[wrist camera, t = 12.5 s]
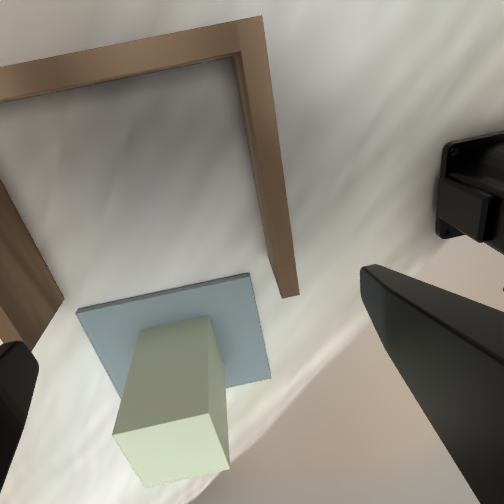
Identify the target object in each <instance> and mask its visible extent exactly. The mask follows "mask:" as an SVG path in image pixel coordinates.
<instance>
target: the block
mask: <svg viewBox="0 0 504 504" xmlns="http://www.w3.org/2000/svg"><path fill="white" fill-rule="evenodd" d="M112 436H113V438H114V439H115V441H116V443H117V444H118V446H119V447H120V449H121V451H122V452H123V454H124V456H125V457H126V459H127V460H128V462H129V464H130V465H131V467H132V468H133V470H134V472H135V473H136V475H137V476H138V478H139V480H140V481H141V483H142V485H143V486H144V488H149V487H153V486H158V485H162V484H166V483H171V482H175V481H179V480H184V479H188V478H192V477H196V476H201V475H205V474H209V473H214V472H218V471H222V470H227V469H230V461H229V443H228V425H227V408H226V390H225V373H224V363H223V360H222V357H221V354H220V351H219V347H218V344H217V341H216V338H215V335H214V332H213V329H212V325H211V322H210V319H209V316H208V315H207V316H203V317H198V318H194V319H190V320H185V321H181V322H176V323H172V324H167V325H163V326H159V327H154V328H150V329H145V330H141V331H139V334H138V338H137V342H136V346H135V350H134V353H133V357H132V361H131V365H130V369H129V372H128V376H127V380H126V384H125V388H124V391H123V395H122V399H121V403H120V407H119V410H118V414H117V418H116V422H115V426H114V430H113V433H112Z"/></svg>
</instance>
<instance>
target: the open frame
mask: <svg viewBox="0 0 504 504" xmlns="http://www.w3.org/2000/svg"><path fill="white" fill-rule="evenodd" d="M231 56H233V61H234V67H235V72H236V78H237V84H238V89H239V95H240V101H241V106H242V112H243V118H244V123H245V129H246V135H247V140H248V146H249V151H250V157H251V163H252V168H253V174H254V180H255V185H256V191H257V197H258V202H259V208H260V214H261V219H262V225H263V231H264V236H265V242H266V248H267V253H268V258H269V261H270V264H271V267H272V270H273V273H274V276H275V279H276V282H277V285H278V288H279V291H280V294H281V297H282V298H287V297H292V296H296V295H300V294H299V287H298V279H297V272H296V264H295V257H294V249H293V242H292V234H291V227H290V220H289V212H288V205H287V197H286V190H285V182H284V175H283V167H282V160H281V153H280V145H279V138H278V130H277V123H276V115H275V108H274V100H273V93H272V86H271V78H270V71H269V63H268V56H267V48H266V41H265V33H264V26H263V18H262V15H261V16H256V17H251V18H246V19H241V20H236V21H231V22H226V23H221V24H216V25H211V26H206V27H201V28H196V29H191V30H186V31H181V32H175V33H170V34H165V35H160V36H155V37H150V38H145V39H140V40H135V41H130V42H125V43H120V44H115V45H110V46H105V47H100V48H95V49H90V50H85V51H80V52H75V53H70V54H64V55H59V56H54V57H49V58H44V59H39V60H34V61H29V62H24V63H19V64H14V65H9V66H4V67H0V103H1V102H6V101H11V100H16V99H21V98H26V97H31V96H36V95H41V94H46V93H51V92H56V91H61V90H66V89H71V88H76V87H81V86H86V85H91V84H96V83H101V82H106V81H111V80H116V79H121V78H126V77H131V76H136V75H141V74H146V73H151V72H156V71H161V70H166V69H171V68H176V67H181V66H186V65H191V64H196V63H201V62H206V61H211V60H216V59H221V58H226V57H231ZM63 300H64V297H63V296H62V294H61V292H60V290H59V288H58V286H57V284H56V283H55V281H54V279H53V277H52V275H51V273H50V271H49V270H48V268H47V266H46V264H45V262H44V260H43V258H42V257H41V255H40V253H39V251H38V249H37V247H36V245H35V244H34V242H33V240H32V238H31V236H30V234H29V232H28V231H27V229H26V227H25V225H24V223H23V221H22V219H21V218H20V216H19V214H18V212H17V210H16V208H15V206H14V205H13V203H12V201H11V199H10V197H9V195H8V193H7V192H6V190H5V188H4V186H3V184H2V182H1V180H0V339H1V340H2V342H3V343H7V342H12V341H17V340H21V341H23V342H25V343H26V345H27V346H28V348H29V349H30V351H32V350H33V348H34V347H35V345H36V343H37V342H38V340H39V339H40V337H41V335H42V334H43V332H44V331H45V329H46V327H47V326H48V324H49V323H50V321H51V320H52V318H53V316H54V315H55V313H56V312H57V310H58V308H59V307H60V305H61V304H62V302H63Z"/></svg>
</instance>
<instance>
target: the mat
mask: <svg viewBox="0 0 504 504" xmlns="http://www.w3.org/2000/svg"><path fill="white" fill-rule="evenodd" d="M207 315H208V316H209V319H210V322H211V325H212V329H213V332H214V335H215V338H216V341H217V344H218V347H219V351H220V354H221V357H222V360H223V363H224V373H225V388H229V387H234V386H238V385H243V384H247V383H252V382H257V381H261V380H266V379H270V378H271V374H270V369H269V365H268V360H267V355H266V351H265V346H264V341H263V337H262V332H261V327H260V322H259V318H258V313H257V308H256V304H255V299H254V294H253V289H252V285H251V280H250V275H249V273H246V274H241V275H237V276H232V277H227V278H223V279H218V280H213V281H208V282H204V283H199V284H194V285H190V286H185V287H180V288H175V289H171V290H166V291H161V292H157V293H152V294H147V295H142V296H138V297H133V298H128V299H124V300H119V301H114V302H109V303H105V304H100V305H95V306H91V307H86V308H81V309H78V310H77V312H76V316H77V318H78V320H79V321H80V323H81V325H82V327H83V329H84V331H85V333H86V335H87V336H88V338H89V340H90V342H91V344H92V346H93V348H94V350H95V351H96V353H97V355H98V357H99V359H100V361H101V363H102V365H103V366H104V368H105V370H106V372H107V374H108V376H109V378H110V380H111V381H112V383H113V385H114V387H115V389H116V391H117V393H118V395H119V396H120V398H121V399H122V395H123V391H124V388H125V384H126V380H127V376H128V372H129V369H130V365H131V361H132V357H133V353H134V350H135V346H136V342H137V338H138V334H139V331H141V330H145V329H150V328H154V327H159V326H163V325H167V324H172V323H176V322H181V321H185V320H190V319H194V318H198V317H203V316H207Z"/></svg>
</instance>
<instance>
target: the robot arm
mask: <svg viewBox="0 0 504 504" xmlns="http://www.w3.org/2000/svg"><path fill="white" fill-rule="evenodd" d="M453 148H455V151H454V153H453V154H451V151H452V149H453ZM437 216H438V217H437V228H436V234H437V235H438V236H439V237H440V238H442V239H448V238H453V237H457V236H461V235H467V236H469V237H471V238H472V239H474V240H475V241H477V242H479V243H482V242H484V243H486V244H487V245H489V246H491V247H492V248H494V249H495V250H497V251H498V252H500V253H502V254H503V255H504V131H503V132H498V133H493V134H488V135H483V136H479V137H474V138H469V139H464V140H459V141H455V142H451V143H449V144H447V145H446V147H445V148H444V151H443V160H442V172H441V179H440V181H439V192H438V203H437ZM446 229H447V230H446ZM445 230H446V232H445V233H443V232H444V231H445ZM360 291H361V298H362V301H363V303H364V305H365V307H366V310H367V312H368V314H369V316H370V318H371V320H372V322H373V324H374V327H375V329H376V331H377V333H378V335H379V338H380V339H381V342H382V344H383V346H384V348H385V350H386V351H387V353H388V355H389V356H390V358H391V360H392V361H393V363H394V364H395V366H396V368H397V369H398V371H399V373H400V374H401V376H402V378H403V379H404V381H405V382H406V384H407V386H408V387H409V389H410V390H411V392H412V394H413V395H414V397H415V399H416V400H417V402H418V403H419V405H420V406H421V408H422V410H423V411H424V413H425V415H426V416H427V418H428V420H429V421H430V423H431V424H432V426H433V428H434V429H435V431H436V432H437V434H438V436H439V437H440V439H441V440H442V442H443V444H444V445H445V447H446V449H447V450H448V452H449V454H450V455H451V457H452V458H453V460H454V462H455V463H456V465H457V466H458V468H459V470H460V471H461V473H462V474H463V476H464V478H465V479H466V481H467V483H468V484H469V486H470V488H471V489H472V491H473V492H474V494H475V496H476V497H477V499H478V500H479V502H480V504H504V312H502V311H499V310H497V309H494V308H491V307H489V306H486V305H483V304H481V303H478V302H475V301H473V300H470V299H467V298H465V297H462V296H460V295H457V294H454V293H452V292H449V291H446V290H444V289H441V288H438V287H436V286H433V285H430V284H428V283H425V282H422V281H420V280H417V279H414V278H412V277H409V276H407V275H404V274H401V273H399V272H396V271H394V270H391V269H388V268H386V267H383V266H380V265H377V264H373V265H368V266H364V267H362V268H361V270H360ZM503 291H504V288H503ZM38 372H39V365H38V362H37V360H36V359H35V357H34V356H33V354H32V352H31V351H30V349H29V348H28V346H27V345H26V343H25V342H23V341H21V340H17V341H12V342H7V343H4V344H2V345H0V493H1V490H2V487H3V484H4V482H5V479H6V476H7V473H8V471H9V468H10V465H11V463H12V460H13V457H14V454H15V452H16V449H17V446H18V443H19V441H20V438H21V435H22V432H23V429H24V426H25V422H26V419H27V415H28V411H29V407H30V404H31V400H32V396H33V392H34V388H35V384H36V380H37V376H38Z"/></svg>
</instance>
